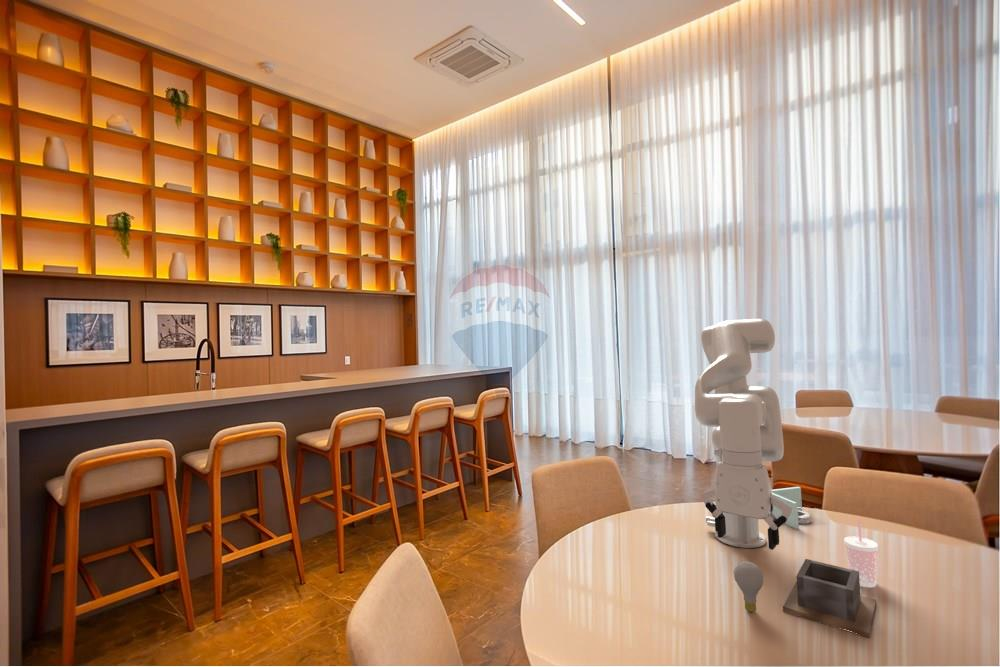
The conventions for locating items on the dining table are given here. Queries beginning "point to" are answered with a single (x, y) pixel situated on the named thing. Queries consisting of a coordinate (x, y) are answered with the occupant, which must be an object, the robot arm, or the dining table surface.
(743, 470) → the robot arm
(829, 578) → the socket block
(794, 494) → the l-shaped corner panel
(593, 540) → the dining table surface
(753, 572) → the light bulb
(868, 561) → the beverage cup
